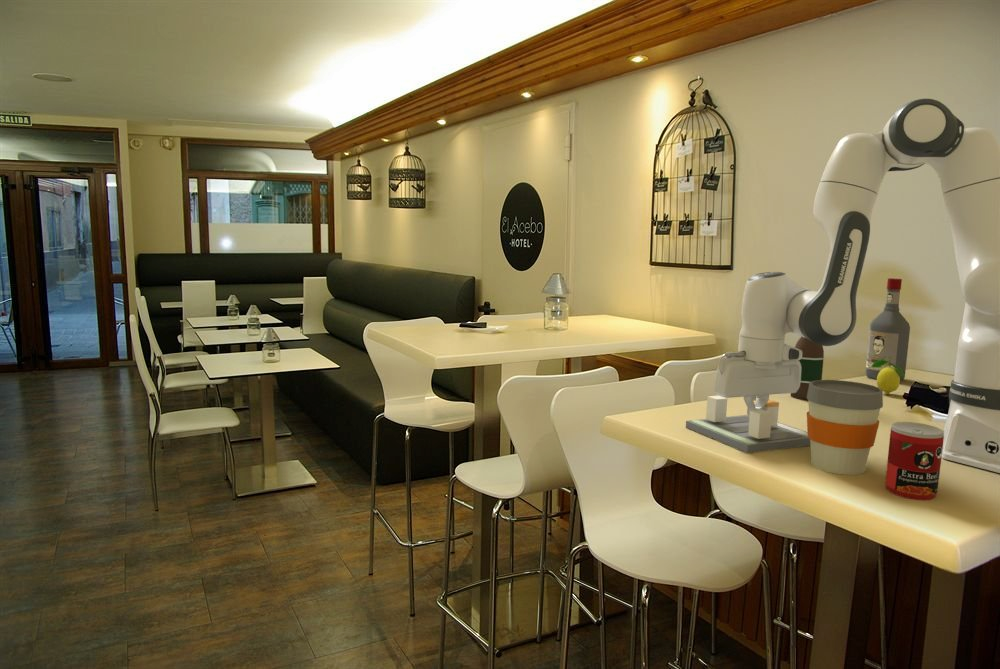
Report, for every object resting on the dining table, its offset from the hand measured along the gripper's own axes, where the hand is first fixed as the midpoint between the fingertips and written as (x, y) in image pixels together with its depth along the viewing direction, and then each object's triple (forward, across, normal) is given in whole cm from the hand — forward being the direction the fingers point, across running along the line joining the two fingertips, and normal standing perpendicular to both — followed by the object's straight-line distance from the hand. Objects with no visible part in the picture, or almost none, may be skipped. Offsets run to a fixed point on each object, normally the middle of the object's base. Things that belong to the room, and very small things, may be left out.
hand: (754, 415), depth 152 cm
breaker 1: (+2, -4, +6) cm, 8 cm away
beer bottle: (+4, +40, +24) cm, 47 cm away
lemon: (+4, +65, +20) cm, 68 cm away
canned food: (+4, +1, -36) cm, 36 cm away
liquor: (+4, +84, +36) cm, 91 cm away
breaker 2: (+2, -5, -6) cm, 8 cm away
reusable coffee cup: (+4, 0, -22) cm, 22 cm away
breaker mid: (+2, +4, 0) cm, 4 cm away
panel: (+4, 0, 0) cm, 4 cm away
